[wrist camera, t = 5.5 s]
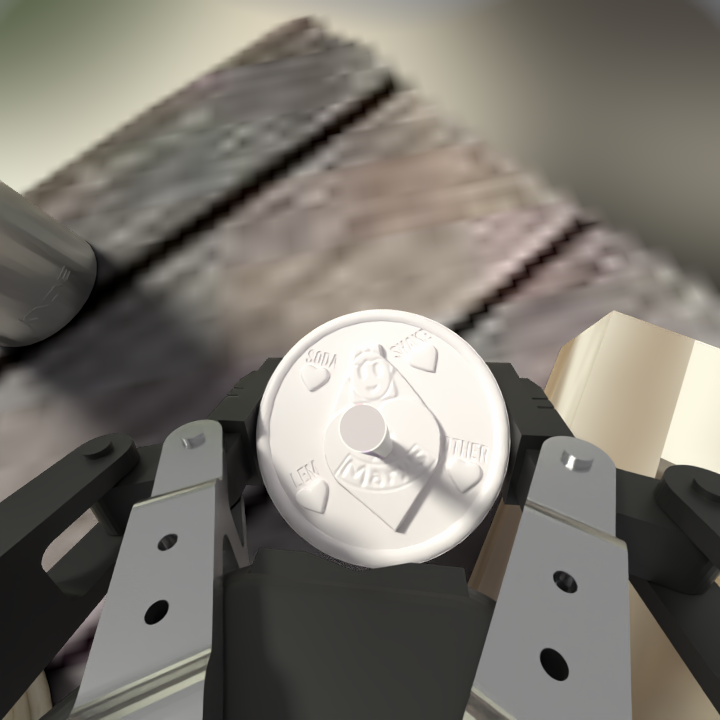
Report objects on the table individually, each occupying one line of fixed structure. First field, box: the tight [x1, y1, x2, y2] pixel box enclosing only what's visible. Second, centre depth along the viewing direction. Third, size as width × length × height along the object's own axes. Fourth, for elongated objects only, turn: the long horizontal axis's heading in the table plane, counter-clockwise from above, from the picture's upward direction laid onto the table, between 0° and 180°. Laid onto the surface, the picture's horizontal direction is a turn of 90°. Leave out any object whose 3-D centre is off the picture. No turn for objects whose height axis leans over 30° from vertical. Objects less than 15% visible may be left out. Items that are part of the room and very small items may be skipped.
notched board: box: [467, 310, 720, 720], centre depth 12 cm, size 14×14×4 cm
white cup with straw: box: [256, 309, 510, 568], centre depth 10 cm, size 6×6×14 cm
